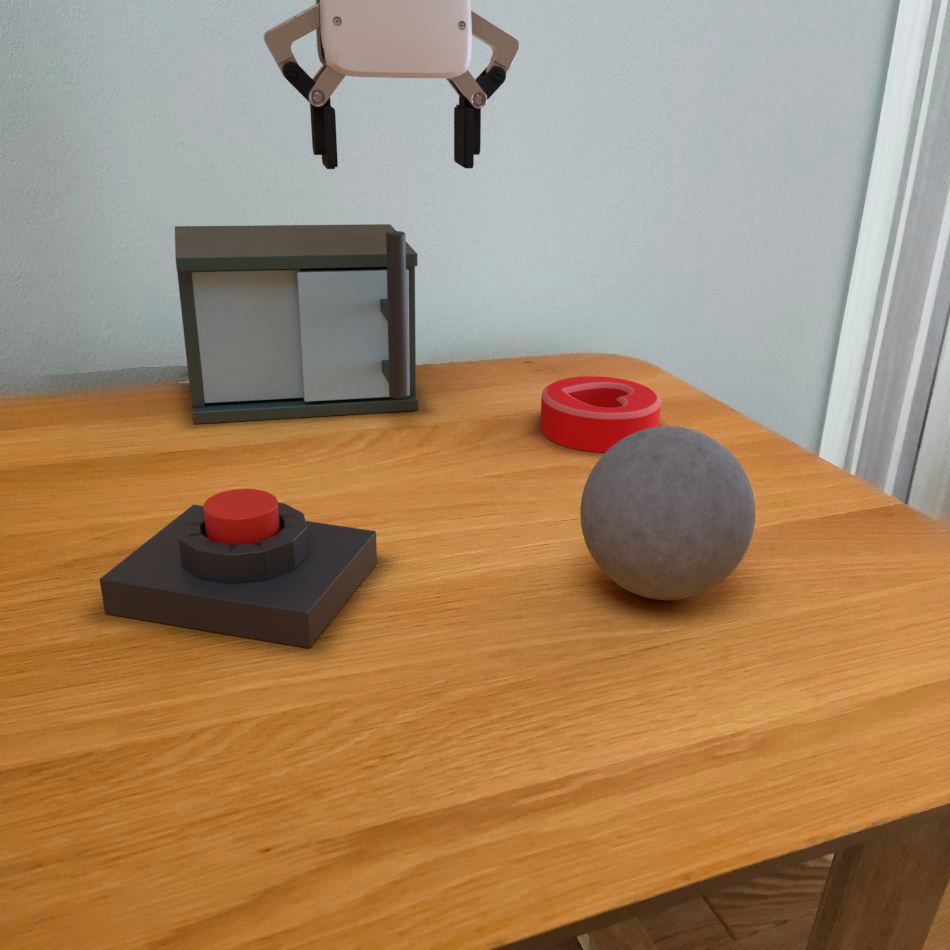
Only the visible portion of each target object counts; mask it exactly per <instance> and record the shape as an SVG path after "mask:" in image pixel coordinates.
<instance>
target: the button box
mask: <svg viewBox="0 0 950 950" xmlns="http://www.w3.org/2000/svg"><path fill="white" fill-rule="evenodd" d="M278 511H279V525H280V530H279V533H278V534H277V535H276V536H273V537H270V538H268V539H265V540H262V541H259V542H256V543H246V544H235V545H233V544H226V543H219V542H213V541H212V540H210V539H208V537H207V535H206V528H205V518H204V509H203V505H200V504H192V505H191V506H189V507H188V508H187V509H186V510H185V511H183V512H182V513H181V514H179V515H178V516H176V518H174V519H173V520H172V521H171V522H169V523H168V524H167V525H165V526H164V527H163V528H161V529H160V530H159V531H158V532H157V533H156V534H153V536H152V537H150V538H149V539H148V540H146V541H145V542H144V543H143V544H141V545H140V546H139V547H138V548H136V549H135V550H134V551H133V552H132V553H130V554H129V555H128V556H126V557H125V558H124V559H123V560H122V561H120V562H119V563H118V564H116V565H115V566H113V568H111V569H110V570H109V571H108V572H106V573H105V574H104V575H102V576H101V577H100V578H99V584H100V585H99V586H100V591H101V598H102V604H103V609H104V610H103V611H104V614H105V615H109V616H117V617H123V618H127V619H128V618H130V619H135V620H141V621H146V622H152V623H158V624H163V625H164V624H165V625H171V626H174V627H175V626H176V627H181V628H188V629H195V630H198V631H199V630H200V631H206V632H211V633H218V634H223V635H229V636H235V637H239V638H240V637H241V638H246V639H247V638H248V639H254V640H259V641H264V642H265V641H266V642H271V643H276V644H283V645H289V646H294V647H300V648H307V649H311V648H312V646H313V645H314V644H315V642H316V641H318V639H319V637H320V636H321V635H322V633H323V632H324V631H325V630H326V629H327V627H328V626H329V624H330V623H331V622H332V621H333V619H335V617H336V615H337V614H339V612H340V611H341V609H342V608H343V607H344V606H345V604H347V602H348V601H349V599H350V598H351V597H352V595H353V594H354V593H355V591H357V589H358V588H359V587H360V586H361V584H362V583H363V581H364V580H365V579H366V578H367V576H368V575H369V574H370V573H371V571H372V570H373V568H375V566H376V565H377V564H378V552H377V551H378V549H377V548H378V547H377V531H376V530H370V529H363V528H357V527H351V526H343V525H336V524H329V523H322V522H316V521H309V520H306V518H305V514H304V513H303V512H302V511H300V510H298V509H296V508H294V507H293V506H291V505H288V504H287V503H284V502H279V501H278Z"/></svg>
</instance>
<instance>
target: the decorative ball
mask: <svg viewBox="0 0 950 950" xmlns="http://www.w3.org/2000/svg"><path fill="white" fill-rule="evenodd" d="M580 500H581V501H580V507H579V508H580V510H579V511H580V513H579V514H580V527H581V532H582V536H583V539H584V542H585V545H586V549H588V552H589V554H590V556H591V557H592V559H593V560H594V562H595V563H596V565H597V566H598V567H599V569H600V570H601V571H602V572H603V574H605V575H606V576H607V578H609V579H610V580H611V581H612V582H613V583H614V584H617V585H618V586H619V587H621V588H622V589H624V590H626V591H628V592H630V593H632V594H635V595H637V596H640V597H644V598H647V599H651V600H657V601H678V600H683V599H689V598H692V597H696V596H699V595H701V594H703V593H706V592H707V591H709V590H711V589H714V588H715V587H717V586H718V585H719V584H721V583H722V582H724V580H726V579H727V578H728V577H729V576H730V575H731V574H732V573H733V572H734V571H735V570H736V568H737V567H738V566H739V565H740V564H741V562H742V561H743V558H744V557H745V555H746V554H747V551H748V549H749V547H750V544H751V541H752V539H753V535H754V529H755V524H756V502H755V501H756V500H755V495H754V490H753V487H752V484H751V481H750V480H749V477H748V475H747V473H746V471H745V469H744V467H743V466H742V465H741V463H740V462H739V460H738V458H736V457H735V455H734V454H733V453H731V451H730V450H729V449H728V448H727V447H726V446H724V445H723V444H722V443H720V442H719V441H717V440H715V439H714V438H713V437H711V436H709V435H707V434H705V433H703V432H700V431H698V430H695V429H692V428H687V427H683V426H673V425H662V426H659V427H653V428H648V429H644V430H641V431H638V432H636V433H633V434H631V435H629V436H627V437H625V438H623V439H622V440H620V441H619V442H617V443H616V444H615V445H613V446H612V447H611V448H610V449H609V450H608V451H606V452H603V454H602V455H601V457H599V459H598V461H597V462H596V463H595V465H593V468H592V470H590V473H589V474H588V477H587V479H586V481H585V484H584V487H583V490H582V494H581V499H580Z"/></svg>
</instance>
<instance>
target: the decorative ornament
mask: <svg viewBox="0 0 950 950" xmlns="http://www.w3.org/2000/svg"><path fill="white" fill-rule="evenodd" d="M540 399H541V400H540V401H541V402H540V419H539V420H540V421H539V431H540V432H541V435H543V436H544V437H545V438H547V439H548V440H549V441H551V442H554V443H556V444H557V445H560V446H563V447H566V448H570V449H574V450H578V451H586V452H594V453H605V452H606V451H608V450H609V449H610V448H611V447H612V446H613V445H615V444H616V443H617V442H619V441H620V440H622V439H623V438H625V437H627V436H629V435H631V434H633V433H636V432H638V431H641V430H644V429H648V428H653V427H660V417H661V409H662V400H661V398H660V396H659V394H658V393H657V392H656V391H655V390H654V389H652V388H651V387H649V386H647V385H645V384H641V383H639V382H636V381H633V380H630V379H624V378H618V377H611V376H601V375H599V376H598V375H597V376H596V375H594V376H593V375H583V376H573V377H567V378H562V379H559V380H555V381H554V382H551V383H549V384H548V385H546V386H545V387H544V389H542V392H541V397H540Z"/></svg>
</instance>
